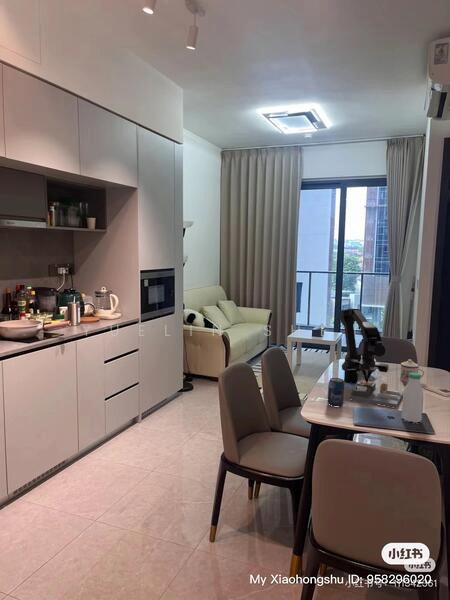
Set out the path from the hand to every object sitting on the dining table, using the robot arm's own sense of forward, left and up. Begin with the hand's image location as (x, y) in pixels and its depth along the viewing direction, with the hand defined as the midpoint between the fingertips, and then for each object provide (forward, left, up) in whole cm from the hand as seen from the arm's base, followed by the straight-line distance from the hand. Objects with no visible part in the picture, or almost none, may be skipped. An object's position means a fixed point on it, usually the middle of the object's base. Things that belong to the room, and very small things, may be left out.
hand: (366, 382), depth 214 cm
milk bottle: (+24, -27, -5) cm, 37 cm away
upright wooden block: (+9, -5, -3) cm, 11 cm away
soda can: (-8, -27, -5) cm, 29 cm away
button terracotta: (0, 0, -3) cm, 3 cm away
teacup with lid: (+17, +33, -5) cm, 37 cm away
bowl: (-10, +32, -5) cm, 34 cm away
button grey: (0, -11, -2) cm, 11 cm away
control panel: (+6, -6, -5) cm, 10 cm away
